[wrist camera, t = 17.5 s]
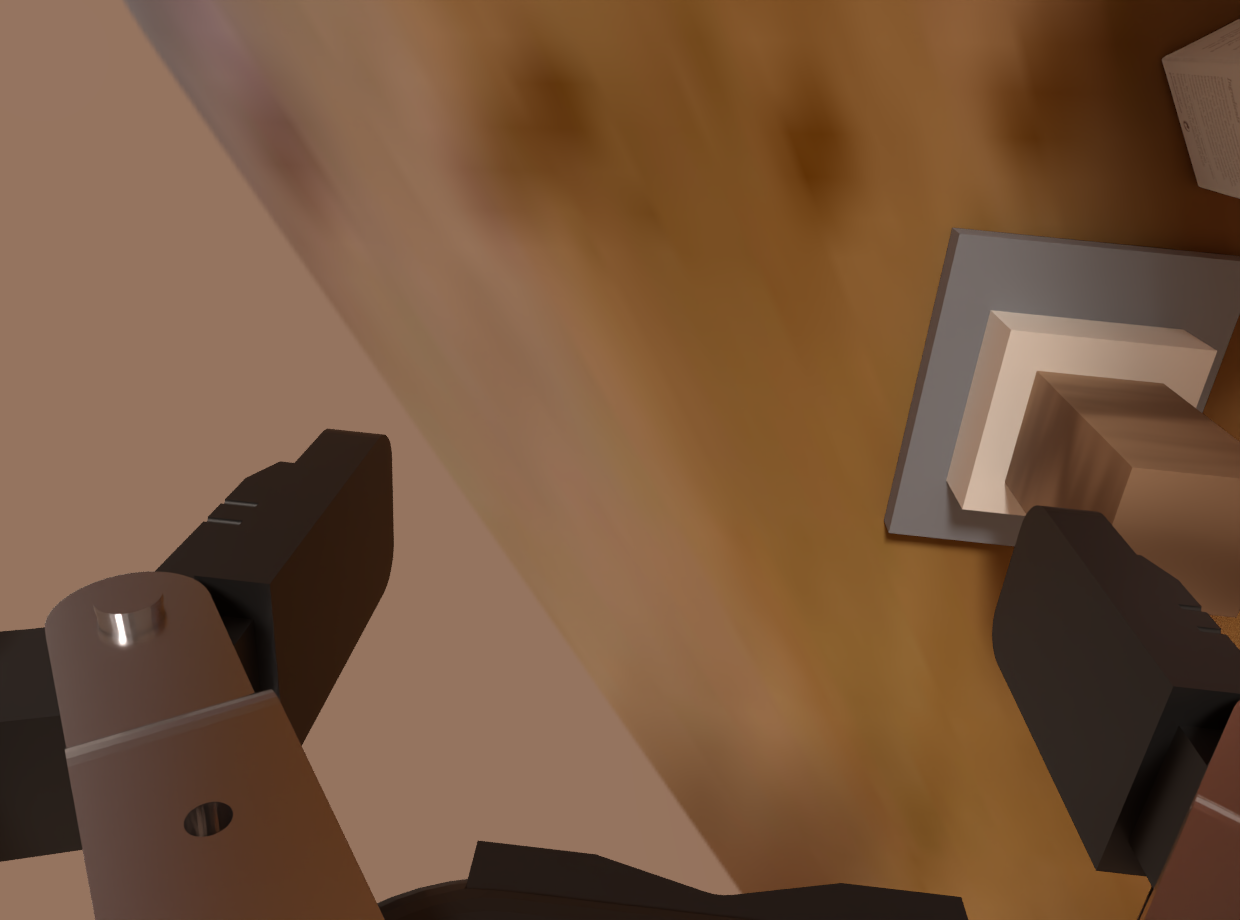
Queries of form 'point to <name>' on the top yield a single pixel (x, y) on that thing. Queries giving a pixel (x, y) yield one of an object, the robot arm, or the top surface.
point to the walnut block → (1138, 475)
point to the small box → (1210, 106)
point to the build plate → (1040, 291)
